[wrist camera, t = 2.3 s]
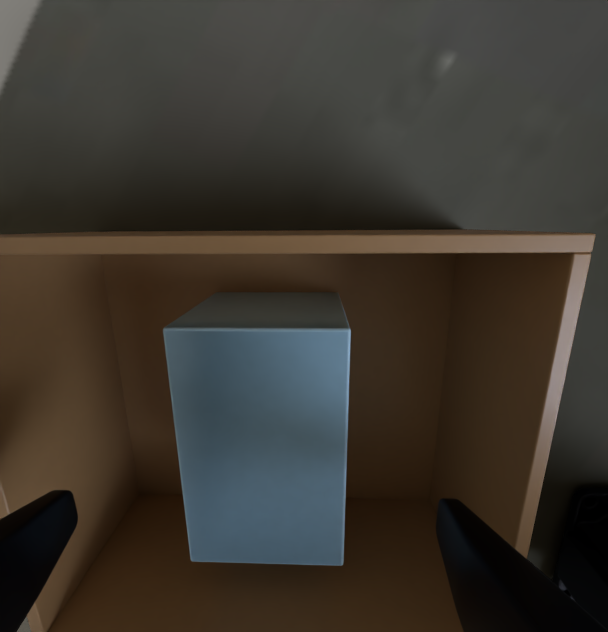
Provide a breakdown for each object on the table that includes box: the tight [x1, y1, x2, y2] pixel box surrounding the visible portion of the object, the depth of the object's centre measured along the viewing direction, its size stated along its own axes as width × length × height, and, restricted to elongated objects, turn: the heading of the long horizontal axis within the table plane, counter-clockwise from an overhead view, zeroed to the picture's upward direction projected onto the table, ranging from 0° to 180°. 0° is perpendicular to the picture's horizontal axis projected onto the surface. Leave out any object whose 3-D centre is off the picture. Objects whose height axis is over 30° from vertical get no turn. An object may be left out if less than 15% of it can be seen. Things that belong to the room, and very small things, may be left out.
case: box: [163, 292, 351, 566], centre depth 12 cm, size 5×8×5 cm, turn 0°
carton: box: [0, 229, 595, 632], centre depth 12 cm, size 15×13×6 cm
